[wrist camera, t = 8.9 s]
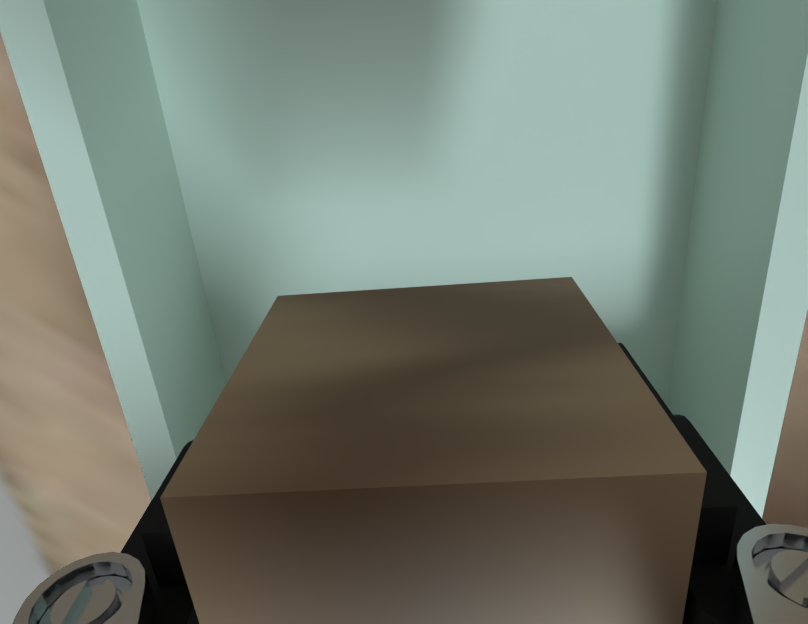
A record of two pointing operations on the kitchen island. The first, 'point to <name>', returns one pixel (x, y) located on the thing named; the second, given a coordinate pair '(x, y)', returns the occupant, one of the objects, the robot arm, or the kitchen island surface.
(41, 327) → the kitchen island surface
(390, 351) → the tan cube
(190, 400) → the tote
